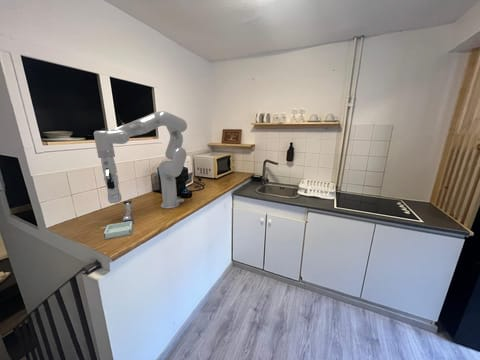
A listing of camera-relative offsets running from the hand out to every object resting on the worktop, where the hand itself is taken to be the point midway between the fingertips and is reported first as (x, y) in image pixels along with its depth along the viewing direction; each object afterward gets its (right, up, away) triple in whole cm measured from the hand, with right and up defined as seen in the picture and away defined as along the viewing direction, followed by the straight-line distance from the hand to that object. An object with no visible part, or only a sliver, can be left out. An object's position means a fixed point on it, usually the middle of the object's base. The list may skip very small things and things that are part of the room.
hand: (112, 186), depth 110 cm
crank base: (+3, -22, +1) cm, 22 cm away
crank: (+5, -18, +7) cm, 20 cm away
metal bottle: (0, -9, +3) cm, 10 cm away
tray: (+8, -24, -7) cm, 26 cm away
